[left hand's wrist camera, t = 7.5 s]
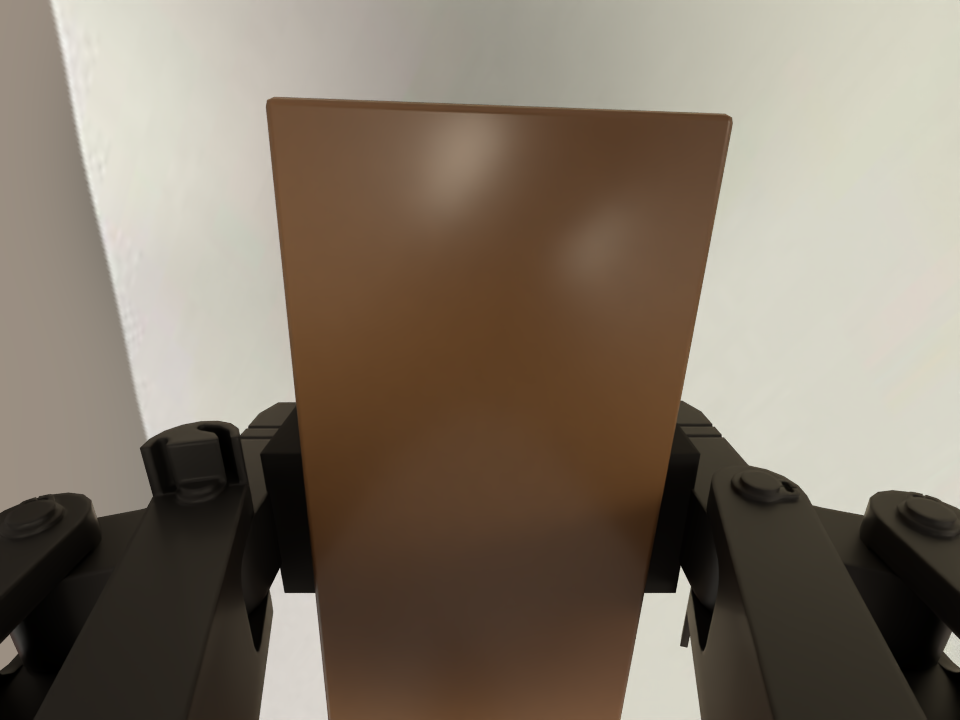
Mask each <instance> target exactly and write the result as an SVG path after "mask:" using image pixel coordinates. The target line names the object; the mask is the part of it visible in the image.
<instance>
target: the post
mask: <svg viewBox="0 0 960 720" xmlns="http://www.w3.org/2000/svg"><path fill="white" fill-rule="evenodd" d="M266 112H267V122H268V132H269V142H270V151H271V161H272V171H273V181H274V191H275V200H276V210H277V220H278V230H279V240H280V250H281V259H282V269H283V279H284V289H285V299H286V309H287V318H288V328H289V338H290V348H291V358H292V368H293V377H294V387H295V397H296V407H297V417H298V426H299V436H300V446H301V456H302V466H303V476H304V485H305V495H306V505H307V515H308V525H309V535H310V544H311V554H312V564H313V574H314V584H315V594H316V603H317V613H318V623H319V633H320V643H321V652H322V662H323V672H324V682H325V692H326V702H327V711H328V720H620V719H621V713H622V708H623V703H624V697H625V692H626V687H627V681H628V676H629V671H630V666H631V660H632V655H633V650H634V644H635V639H636V634H637V628H638V623H639V618H640V612H641V607H642V602H643V597H644V591H645V586H646V581H647V575H648V570H649V565H650V559H651V554H652V549H653V543H654V538H655V533H656V528H657V522H658V517H659V512H660V506H661V501H662V496H663V490H664V485H665V480H666V474H667V469H668V464H669V459H670V453H671V448H672V443H673V437H674V432H675V427H676V421H677V416H678V411H679V405H680V400H681V395H682V390H683V384H684V379H685V374H686V368H687V363H688V358H689V352H690V347H691V342H692V336H693V331H694V326H695V321H696V315H697V310H698V305H699V299H700V294H701V289H702V283H703V278H704V273H705V267H706V262H707V257H708V252H709V246H710V241H711V236H712V230H713V225H714V220H715V214H716V209H717V204H718V198H719V193H720V188H721V183H722V177H723V172H724V167H725V161H726V156H727V151H728V145H729V140H730V135H731V129H732V124H733V122H732V117H730V116H728V115H727V114H719V113H692V112H665V111H639V110H612V109H585V108H558V107H531V106H505V105H478V104H451V103H424V102H398V101H371V100H344V99H317V98H290V97H273V98H271V99H268V100H267V104H266Z"/></svg>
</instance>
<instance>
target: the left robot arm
mask: <svg viewBox="0 0 960 720" xmlns="http://www.w3.org/2000/svg"><path fill="white" fill-rule="evenodd" d="M140 450H141V454H142V458H143V461H144V465H145V469H146V472H147V476H148V479H149V483H150V486H151V490H152V494H153V497H152V499H151V501H150V503H149V505H148V507H147V508H145V509H141V510H136V511H131V512H125V513H120V514H115V515H109V516H104V517H99V518H97V516H96V513H95V510H94V507H93V504H92V501H91V500H90V499H89V498H88V497H86V496H85V495H83V494H76V493H61V494H48V495H43V496H39V498H36V497H35V498H32V499H29V500H26V501H23V502H22V503H20V504H19V505H16V506H14V507H12V508H9V509H7V510H5V511H3V512H1V513H0V644H1V643H2V642H3V640H4V639H5V638H6V637H7V636H8V635H9V634H10V636H11V638H12V640H13V643H14V645H15V647H16V649H17V651H18V654H17V656H16V657H15V658H14V659H13V660H12V661H11V662H10V663H9V664H8V665H7V666H6V667H4V668H3V669H2V670H1V671H0V720H259V715H260V707H261V700H262V692H263V685H264V677H265V670H266V662H267V655H268V647H269V640H270V632H271V625H272V617H273V607H272V600H271V595H270V590H269V589H270V587H271V585H272V583H273V581H274V579H275V577H276V575H277V573H278V571H279V568H280V570H281V575H282V581H283V586H284V592H285V593H315V584H314V574H313V564H312V554H311V544H310V535H309V525H308V515H307V505H306V495H305V485H304V476H303V466H302V456H301V446H300V436H299V426H298V417H297V407H296V402H278V403H277V404H275V405H273V406H271V407H270V408H268V409H266V410H264V411H263V412H261V413H259V415H258V416H257V417H256V418H255V419H254V420H253V421H252V423H251V424H250V425H249V426H248V429H245V431H244V432H243V433H242V434H241V435H240V433H239V429H238V428H237V427H236V426H234V425H233V424H231V423H227V422H221V421H200V422H195V423H189V424H184V425H180V426H177V427H175V428H172V429H169V430H166V431H163V432H162V433H160V434H158V435H156V436H154V437H152V438H150V439H149V440H148V441H147V442H146V443H145V444H144V445H143V446H141V447H140ZM680 566H681V567H682V569H683V571H684V573H685V575H686V577H687V579H688V581H689V583H690V585H691V590H690V595H689V600H688V605H687V610H686V616H685V621H684V626H683V631H682V637H681V644H680V646H682V647H688V642H689V637H690V638H691V646H692V653H693V661H694V668H695V676H696V683H697V691H698V698H699V706H700V713H701V720H960V668H959V667H958V666H957V665H956V664H955V663H953V662H952V661H951V660H950V658H949V657H948V656H947V655H946V654H945V653H944V652H943V651H944V648H945V646H946V644H947V642H948V639H949V637H950V635H951V633H952V632H953V633H954V634H955V635H956V636H957V637H958V638H959V639H960V510H959V509H958V508H956V507H953V506H951V505H949V504H946V503H944V502H942V501H941V500H939V499H937V498H934V497H931V496H928V495H925V496H923V494H920V493H915V492H904V491H895V490H891V491H883V492H877V493H876V494H875V495H873V496H872V497H870V499H869V502H868V505H867V508H866V511H865V514H864V515H859V514H853V513H848V512H843V511H837V510H832V509H826V508H821V507H817V506H813V505H812V504H811V502H810V500H809V498H808V497H807V495H806V494H805V493H804V492H803V490H802V489H801V488H800V487H799V486H798V485H797V484H795V483H794V482H792V481H790V480H789V479H787V478H786V477H784V476H782V475H779V474H777V473H774V472H772V471H769V470H767V469H762V468H758V467H753V466H749V465H748V464H747V463H746V462H745V461H744V460H743V459H742V457H741V456H740V455H739V454H738V453H737V452H736V451H735V449H734V448H733V447H732V446H731V445H730V444H729V443H728V441H727V440H726V439H725V438H724V437H722V435H721V434H720V432H719V431H718V430H717V429H716V428H715V427H712V423H711V422H710V421H709V420H708V419H707V418H706V416H705V415H704V414H703V413H702V412H701V411H699V410H698V409H696V408H694V407H692V406H691V405H689V404H687V403H685V402H684V401H680V405H679V411H678V416H677V421H676V427H675V432H674V437H673V443H672V448H671V453H670V459H669V464H668V469H667V474H666V480H665V485H664V490H663V496H662V501H661V506H660V512H659V517H658V522H657V528H656V533H655V538H654V543H653V549H652V554H651V559H650V565H649V570H648V575H647V581H646V586H645V591H644V593H676V588H677V583H678V577H679V572H680Z"/></svg>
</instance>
